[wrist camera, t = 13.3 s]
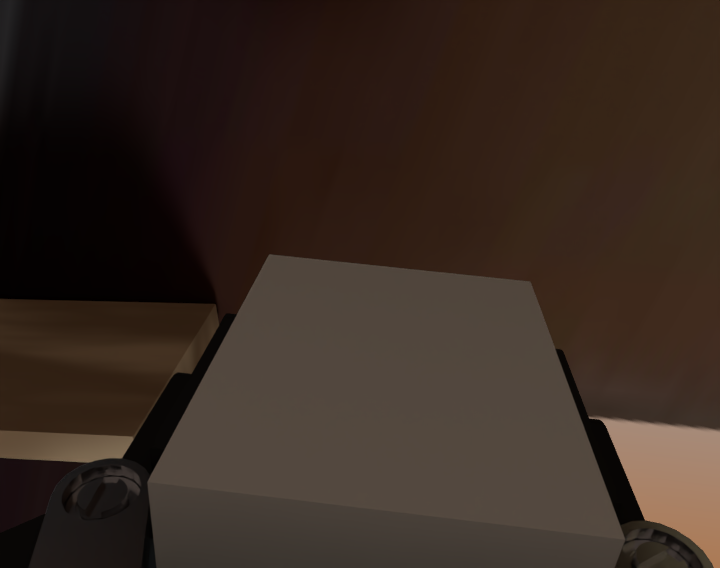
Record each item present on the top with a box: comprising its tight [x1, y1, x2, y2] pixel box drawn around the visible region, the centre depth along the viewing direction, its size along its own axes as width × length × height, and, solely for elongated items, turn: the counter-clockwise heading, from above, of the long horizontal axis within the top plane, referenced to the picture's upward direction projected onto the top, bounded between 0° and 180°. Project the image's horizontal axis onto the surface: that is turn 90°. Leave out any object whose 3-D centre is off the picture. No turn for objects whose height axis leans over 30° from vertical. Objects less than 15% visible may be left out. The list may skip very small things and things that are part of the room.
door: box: [0, 299, 219, 462], centre depth 25 cm, size 3×16×9 cm, turn 92°
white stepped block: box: [147, 255, 625, 568], centre depth 11 cm, size 8×5×6 cm, turn 176°
